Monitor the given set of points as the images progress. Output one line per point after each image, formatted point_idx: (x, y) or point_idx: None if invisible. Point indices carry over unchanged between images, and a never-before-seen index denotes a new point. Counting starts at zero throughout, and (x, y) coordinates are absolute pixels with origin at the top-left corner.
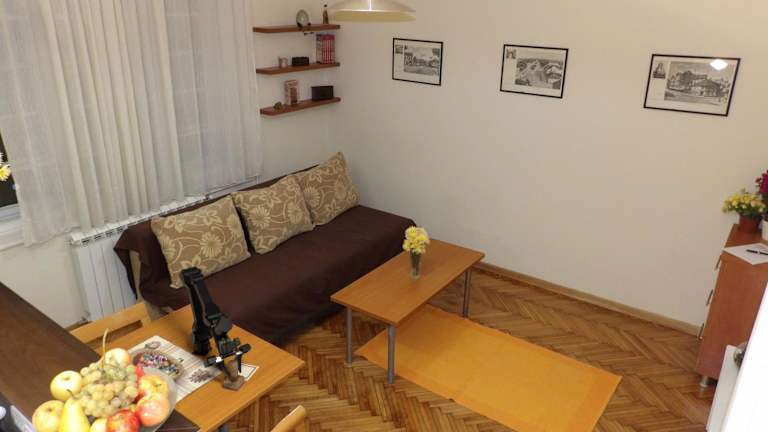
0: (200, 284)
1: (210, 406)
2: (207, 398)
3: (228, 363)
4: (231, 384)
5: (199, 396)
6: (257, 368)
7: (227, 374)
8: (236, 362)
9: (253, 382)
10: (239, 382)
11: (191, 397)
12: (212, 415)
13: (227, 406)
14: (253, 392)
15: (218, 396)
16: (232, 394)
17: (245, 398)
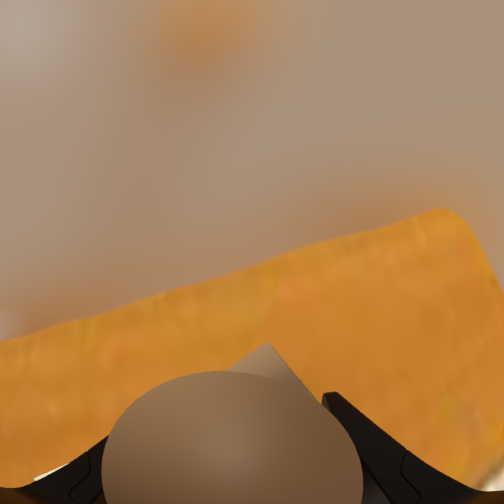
0: None
1: (444, 322)
2: (444, 403)
3: (360, 492)
4: (303, 385)
5: (470, 438)
6: (44, 474)
7: (356, 409)
8: (145, 419)
9: (120, 402)
10: (227, 370)
11: (498, 440)
12: (440, 250)
13: (364, 275)
14: (172, 310)
15: (387, 396)
16: (299, 371)
17: (242, 285)
